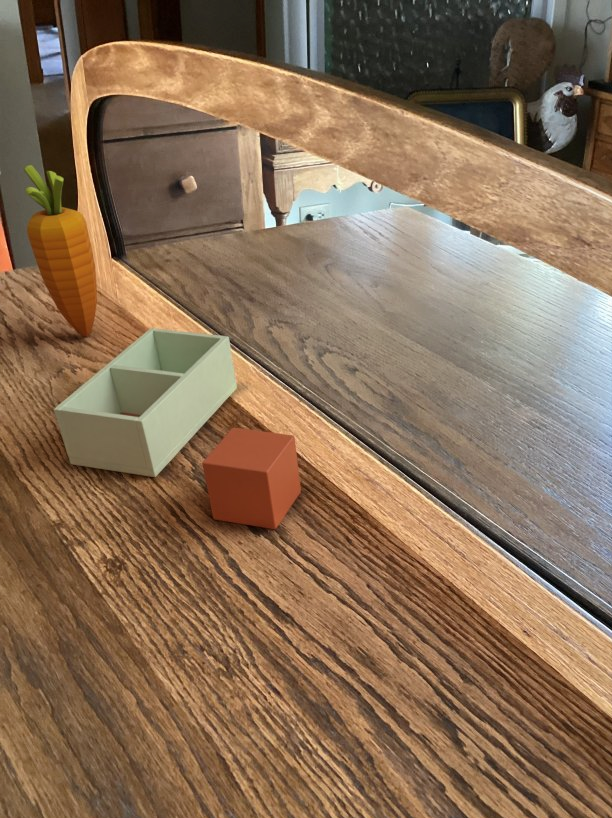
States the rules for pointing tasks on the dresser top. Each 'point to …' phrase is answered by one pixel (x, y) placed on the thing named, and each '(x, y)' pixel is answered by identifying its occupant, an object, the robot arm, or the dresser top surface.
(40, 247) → the carrot
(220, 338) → the sorting tray
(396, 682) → the dresser top surface
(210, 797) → the dresser top surface
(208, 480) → the terracotta block
